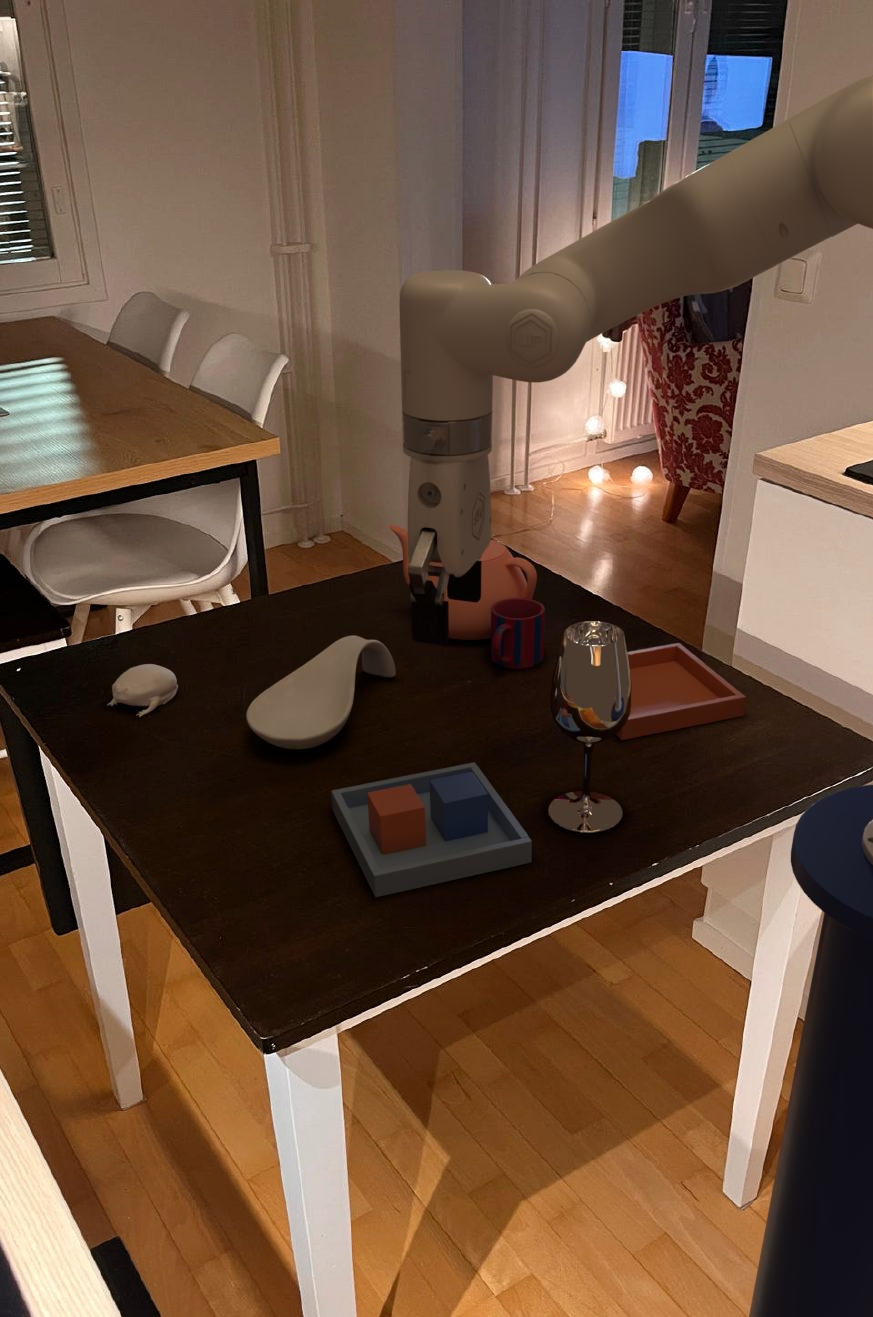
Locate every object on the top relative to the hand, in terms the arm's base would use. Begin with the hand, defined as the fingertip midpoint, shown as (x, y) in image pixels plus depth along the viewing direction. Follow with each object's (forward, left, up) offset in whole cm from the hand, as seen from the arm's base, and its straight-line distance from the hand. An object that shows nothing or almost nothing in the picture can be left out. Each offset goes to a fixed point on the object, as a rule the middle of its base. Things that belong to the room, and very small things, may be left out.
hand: (447, 620), depth 108 cm
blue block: (-2, 0, -22) cm, 22 cm away
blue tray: (-2, +3, -22) cm, 22 cm away
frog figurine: (+38, +26, -22) cm, 52 cm away
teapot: (+45, -18, -22) cm, 54 cm away
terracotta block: (-2, +6, -22) cm, 23 cm away
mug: (+31, -19, -22) cm, 43 cm away
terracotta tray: (+16, -31, -22) cm, 41 cm away
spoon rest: (+26, +6, -22) cm, 35 cm away
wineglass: (-3, -13, -22) cm, 26 cm away
